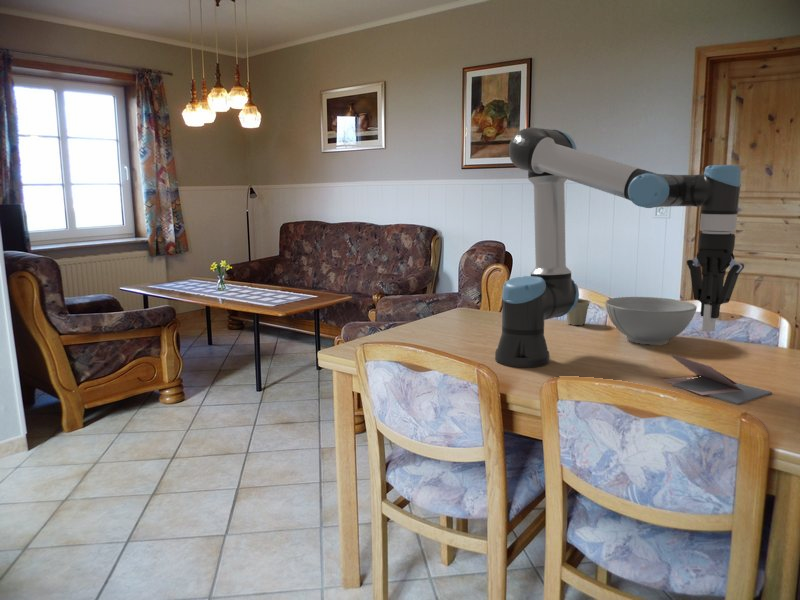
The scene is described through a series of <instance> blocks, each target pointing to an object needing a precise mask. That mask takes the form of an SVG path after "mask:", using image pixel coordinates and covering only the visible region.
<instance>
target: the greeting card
mask: <svg viewBox="0 0 800 600" xmlns="http://www.w3.org/2000/svg"><path fill="white" fill-rule="evenodd" d="M667 355H669V356H670V357H672V358H673V359H674V360H676V361H677V362H678V363H679V364H681V365H683V366H684V367H685V368H687V369H688V370H689V371H691V372H692V373H693V374H695V375H696V376H698V375H699V376H703V377H706V378H709V379H712V380H714V381H717V382H720V383H723V384H725V385H728V386H731V387H734V388H736V389H727V390H717V391H708V392H698V391H694V390H690V389H687V390H686V391H689V390H690V391H689V392H692V393H694V394H695V393H696V394H698V395H701V396H706V395H708V394H717V393H727V392H736V391H743V390H742V389H740V388H739V387H737V386H736V385H735V384H737V383H738V382H735V381H734V380H732V379H731V378H729V377H727V376H726V375H724V374H723V373H721V372H719V371H718V370H716V369H714V367H712V366H710V365H707V364H704V363H700V362H697V361H694V360H691V359H687V358H685V357H682V356H678V355H676V354H675V355H674V354H671V353H669V352H667ZM685 377H686V376H684V377H675V378H665V379H664V378H663V379H662V381H664V382H667V383H669V384H671V385H673V384H675V383H679V382H683V381H686V380H690V379H692V378H690V379H687V378H685ZM685 389H686V388H685ZM685 389H684V390H685Z"/></svg>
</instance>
